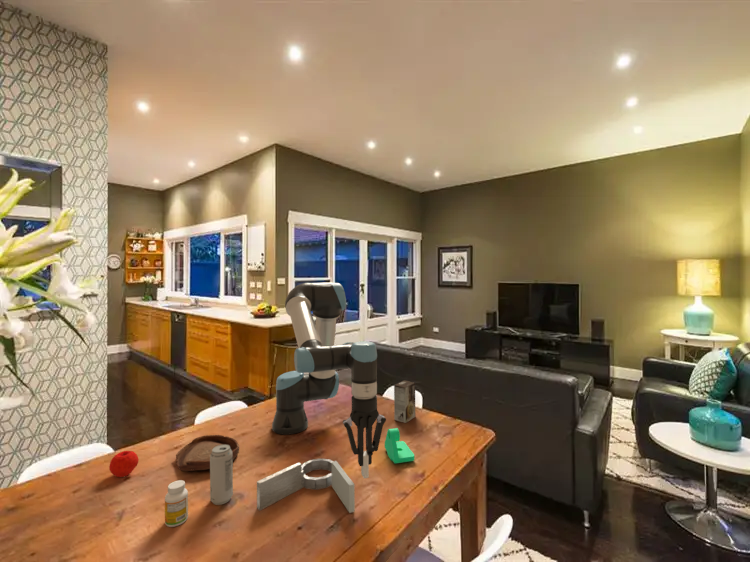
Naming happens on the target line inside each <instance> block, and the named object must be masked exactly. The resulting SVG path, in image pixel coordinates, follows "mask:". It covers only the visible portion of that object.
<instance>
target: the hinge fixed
mask: <svg viewBox="0 0 750 562" xmlns="http://www.w3.org/2000/svg"><path fill="white" fill-rule="evenodd" d="M333 461H334V460H332V459H329V458H314V459H309V460H308V461H305V462H304V463H301V462H296V463H293V464H292V465H289V466H288V467H285V468H283V469H280V470H278V471H277V472H274V473H272V474H270V475H268V476H265V477H264V478H261V479H259V480H257V481H256V509H257V510H258V511H262V510H264V509H265V508H267V507H269V506H271V505H273V504H275V503H277V502H279V501H281V500H282V499H284V498H287V497H288V496H290V495H292V494H294V493H295V492H297V491H300V490H301V489H303V488H305V489H309V490H322V489H327V488H329V487H332V462H333ZM317 470H324V471H325V470H326V471H329V473H328V474H326V475H324V476H319V477H314V476H308V475H306V474H308V473H310V472H312V471H317Z"/></svg>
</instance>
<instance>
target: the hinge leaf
mask: <svg viewBox="0 0 750 562" xmlns="http://www.w3.org/2000/svg"><path fill="white" fill-rule="evenodd" d="M332 461H333V462H332V472H331V473H332V485H331V487H332V489H333V490H334V492H335V494H337V496H338V498H339V499H340V501H341V502H342V504H343V505H344V507H345V508H346V510H347V512H348V513H349V514H351V513H354V512H355V508H356V507H355V506H356V505H355V489H356V488H355V483H354V482H353V480H352V479H351V478H350V477H349V475H348V474H347V473H346V471H345V470H344V469H343V468H342V466H341V465H340V464H339V462H338V461H337V460H332Z"/></svg>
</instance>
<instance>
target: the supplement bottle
mask: <svg viewBox="0 0 750 562" xmlns="http://www.w3.org/2000/svg"><path fill="white" fill-rule="evenodd" d="M188 519H189V491H188V489H187V488H186V482H185V480H182V479H179V480H175V481H173V482H171V483H169V484H168V486H167V493H166V494H165V496H164V523H165V526H166V527H168V528H169V527H170V528H173V527H178V526H180V525H182V524H184V523H185V522H186V521H187V520H188Z"/></svg>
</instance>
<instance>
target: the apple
mask: <svg viewBox="0 0 750 562" xmlns="http://www.w3.org/2000/svg"><path fill="white" fill-rule="evenodd" d="M139 460H140V459H139V457H138V455H137V453H136V452H135V451H132V450H123V451H120V452H118V453H116V454H115V455H114V456H113V457H112V459H111V460H110V462H109V466H108V467H109V471H110V473H111V474H112V475H113V476H114V477H117V478H124V476H125V477H127V476H128V475H130V474H131V473H132V472H133V471H134V470H135V468H136V467H137V466H138V464H139Z"/></svg>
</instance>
